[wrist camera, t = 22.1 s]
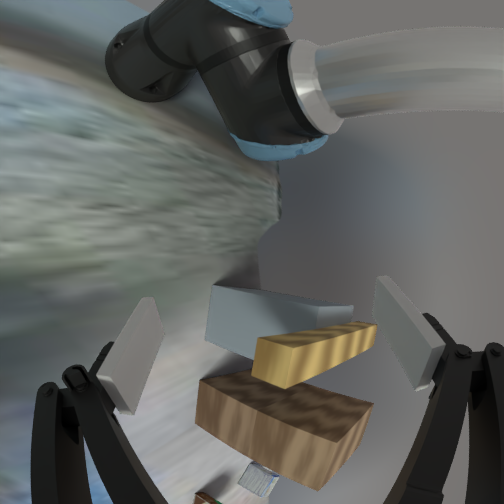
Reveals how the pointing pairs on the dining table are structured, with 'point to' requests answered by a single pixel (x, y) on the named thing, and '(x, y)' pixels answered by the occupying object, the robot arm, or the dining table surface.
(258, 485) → the medicine box
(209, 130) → the dining table surface
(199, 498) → the food container
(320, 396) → the tall tower
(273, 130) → the robot arm
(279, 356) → the ochre bar
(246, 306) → the light grey tall block
